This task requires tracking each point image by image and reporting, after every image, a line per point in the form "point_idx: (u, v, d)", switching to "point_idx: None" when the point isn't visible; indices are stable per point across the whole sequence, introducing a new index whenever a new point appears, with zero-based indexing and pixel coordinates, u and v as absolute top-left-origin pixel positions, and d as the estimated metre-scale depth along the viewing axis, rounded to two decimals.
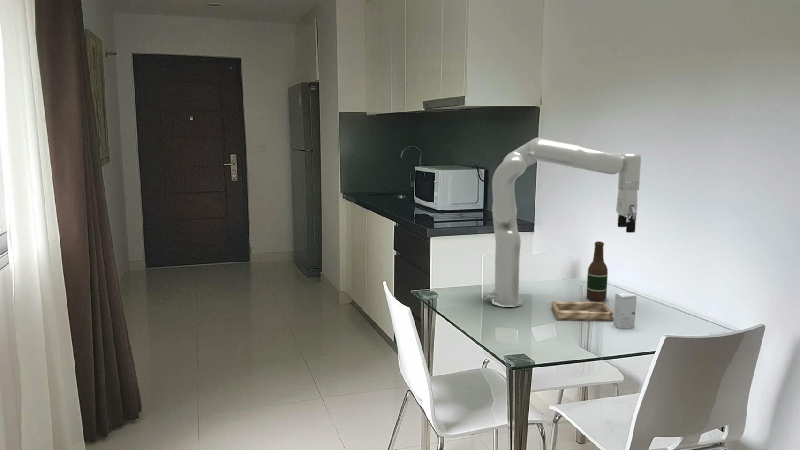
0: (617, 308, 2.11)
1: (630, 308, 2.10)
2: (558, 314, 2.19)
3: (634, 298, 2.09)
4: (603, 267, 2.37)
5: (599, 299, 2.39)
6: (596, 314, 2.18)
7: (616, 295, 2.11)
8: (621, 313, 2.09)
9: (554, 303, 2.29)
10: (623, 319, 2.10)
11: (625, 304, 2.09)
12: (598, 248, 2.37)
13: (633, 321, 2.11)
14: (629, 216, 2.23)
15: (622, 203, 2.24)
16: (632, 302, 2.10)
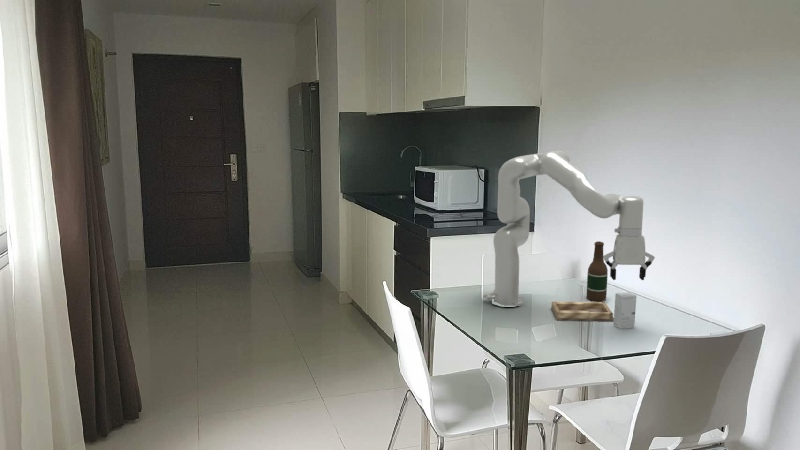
0: (617, 308, 2.11)
1: (630, 308, 2.10)
2: (558, 314, 2.19)
3: (634, 298, 2.09)
4: (603, 267, 2.37)
5: (599, 299, 2.39)
6: (596, 314, 2.18)
7: (616, 295, 2.11)
8: (621, 313, 2.09)
9: (554, 303, 2.29)
10: (623, 319, 2.10)
11: (626, 304, 2.09)
12: (598, 248, 2.37)
13: (633, 321, 2.11)
14: None
15: (638, 251, 2.04)
16: (632, 302, 2.10)
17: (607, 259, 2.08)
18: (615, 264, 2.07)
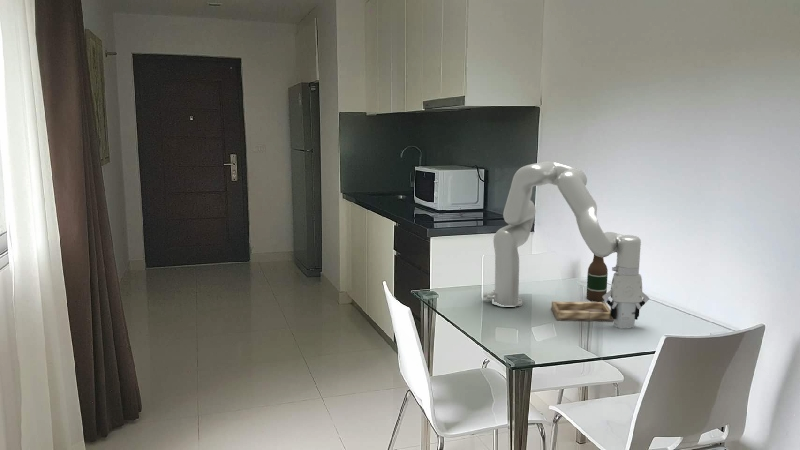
0: (617, 308, 2.11)
1: (630, 308, 2.10)
2: (558, 314, 2.19)
3: None
4: (603, 267, 2.37)
5: (599, 299, 2.39)
6: (596, 314, 2.18)
7: None
8: (621, 313, 2.09)
9: (554, 303, 2.29)
10: (623, 319, 2.10)
11: (626, 304, 2.09)
12: None
13: (633, 321, 2.11)
14: None
15: (635, 290, 2.07)
16: None
17: (607, 299, 2.11)
18: (614, 303, 2.10)
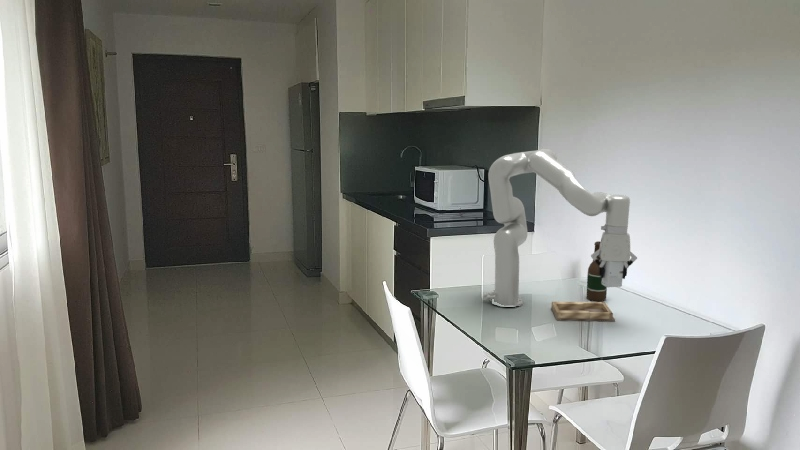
0: (605, 267, 2.13)
1: (618, 267, 2.12)
2: (558, 314, 2.19)
3: None
4: None
5: (599, 299, 2.39)
6: (596, 314, 2.18)
7: None
8: (609, 271, 2.12)
9: (554, 303, 2.29)
10: (611, 278, 2.12)
11: (614, 262, 2.11)
12: (598, 248, 2.37)
13: (621, 280, 2.13)
14: None
15: (623, 249, 2.10)
16: (620, 262, 2.12)
17: (595, 258, 2.14)
18: (603, 262, 2.13)
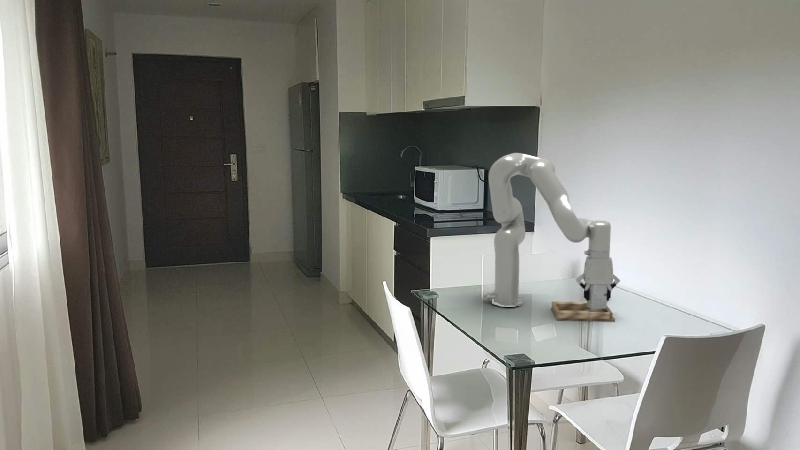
0: (590, 290, 2.22)
1: (602, 290, 2.20)
2: (558, 314, 2.19)
3: None
4: None
5: None
6: (596, 314, 2.18)
7: None
8: (593, 294, 2.20)
9: (554, 303, 2.29)
10: (596, 300, 2.21)
11: (597, 286, 2.20)
12: None
13: (605, 302, 2.22)
14: None
15: (606, 272, 2.18)
16: None
17: (580, 281, 2.22)
18: (587, 286, 2.21)
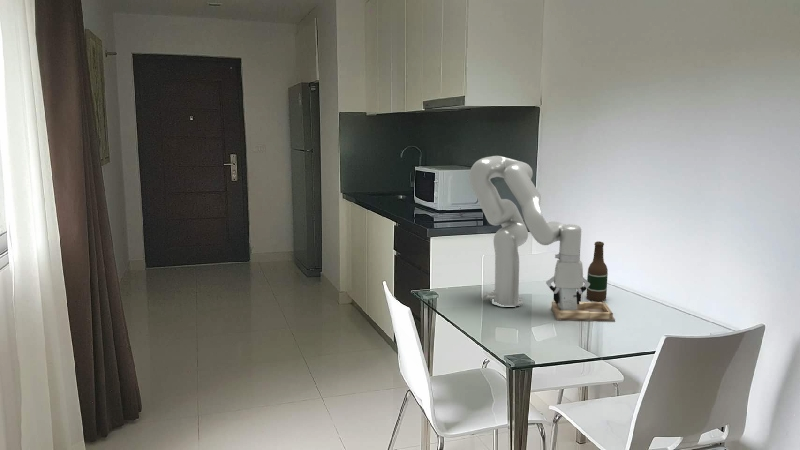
0: (559, 293, 2.23)
1: (571, 292, 2.22)
2: (558, 314, 2.19)
3: None
4: (603, 267, 2.37)
5: (599, 299, 2.39)
6: (596, 314, 2.18)
7: None
8: (563, 297, 2.21)
9: (554, 303, 2.29)
10: (566, 302, 2.22)
11: (566, 288, 2.21)
12: (598, 248, 2.37)
13: (575, 303, 2.23)
14: None
15: (576, 276, 2.19)
16: None
17: (550, 284, 2.23)
18: (557, 289, 2.23)
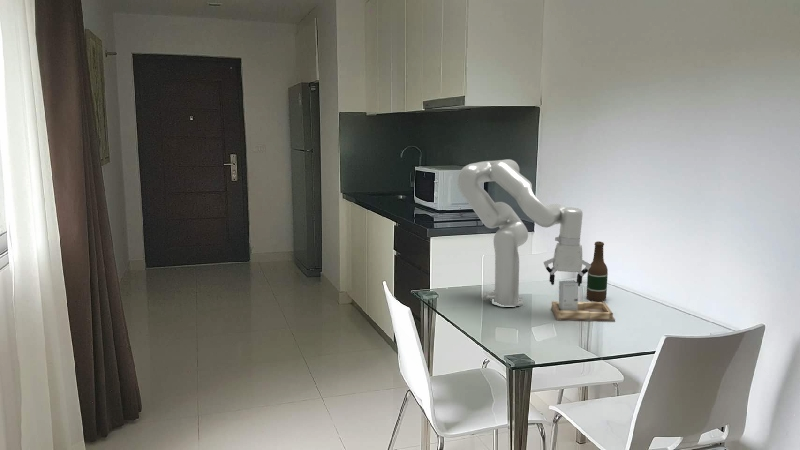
0: (560, 295, 2.24)
1: (572, 295, 2.22)
2: (558, 314, 2.19)
3: (576, 286, 2.21)
4: (603, 267, 2.37)
5: (599, 299, 2.39)
6: (596, 314, 2.18)
7: (559, 283, 2.24)
8: (563, 299, 2.22)
9: (554, 303, 2.29)
10: (566, 305, 2.22)
11: (567, 291, 2.21)
12: (598, 248, 2.37)
13: (576, 307, 2.23)
14: None
15: (575, 259, 2.18)
16: (574, 290, 2.22)
17: (547, 265, 2.22)
18: (554, 270, 2.21)
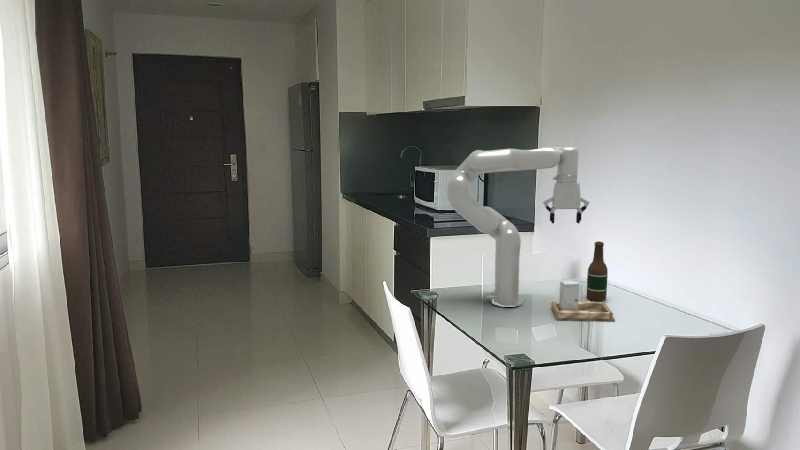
0: (561, 295, 2.24)
1: (573, 296, 2.22)
2: (558, 314, 2.19)
3: (577, 286, 2.21)
4: (603, 267, 2.37)
5: (599, 299, 2.39)
6: (596, 314, 2.18)
7: (560, 283, 2.24)
8: (564, 299, 2.22)
9: (554, 303, 2.29)
10: (566, 305, 2.22)
11: (568, 291, 2.21)
12: (598, 248, 2.37)
13: (576, 308, 2.23)
14: None
15: (574, 196, 2.25)
16: (574, 290, 2.22)
17: (546, 204, 2.29)
18: (553, 209, 2.28)
